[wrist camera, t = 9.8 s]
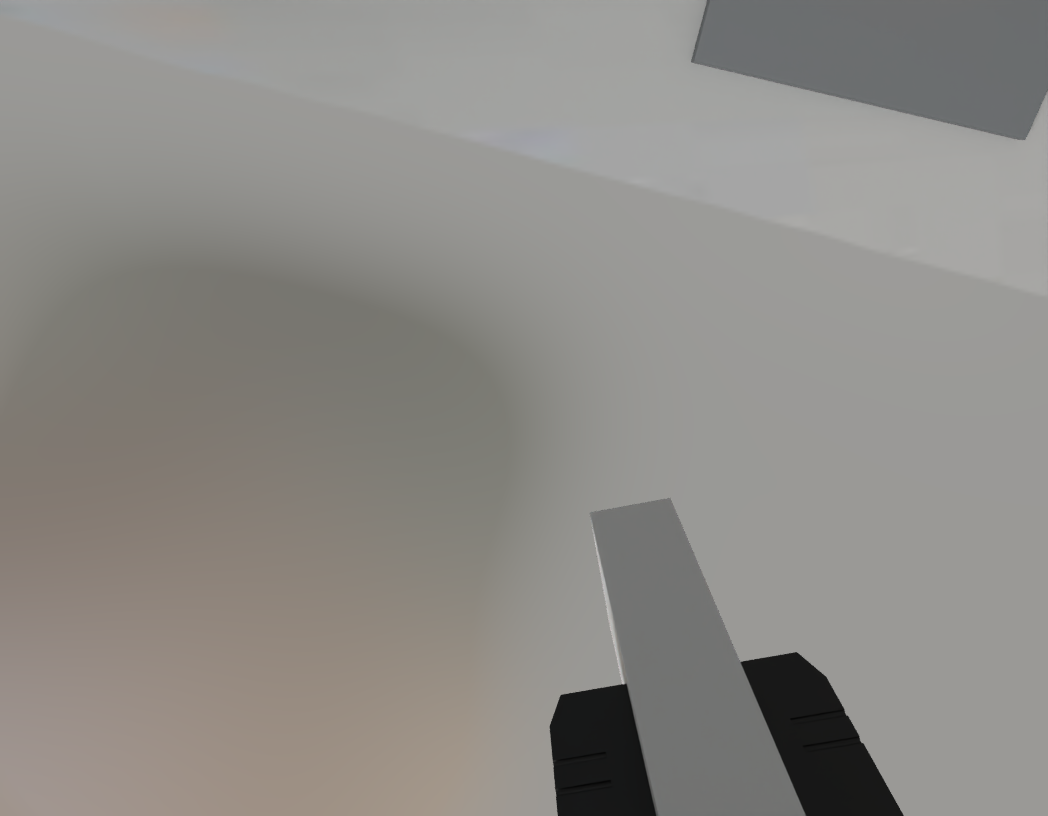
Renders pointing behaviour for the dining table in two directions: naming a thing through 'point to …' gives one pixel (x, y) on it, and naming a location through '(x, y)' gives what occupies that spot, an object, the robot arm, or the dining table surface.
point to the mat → (893, 54)
